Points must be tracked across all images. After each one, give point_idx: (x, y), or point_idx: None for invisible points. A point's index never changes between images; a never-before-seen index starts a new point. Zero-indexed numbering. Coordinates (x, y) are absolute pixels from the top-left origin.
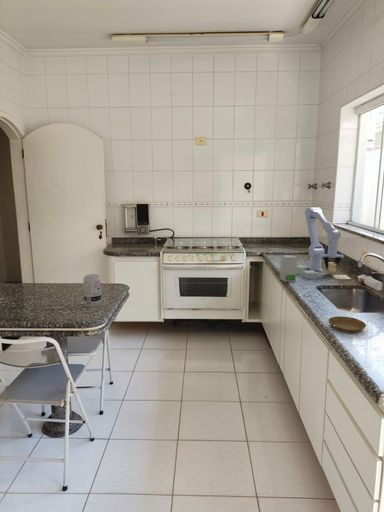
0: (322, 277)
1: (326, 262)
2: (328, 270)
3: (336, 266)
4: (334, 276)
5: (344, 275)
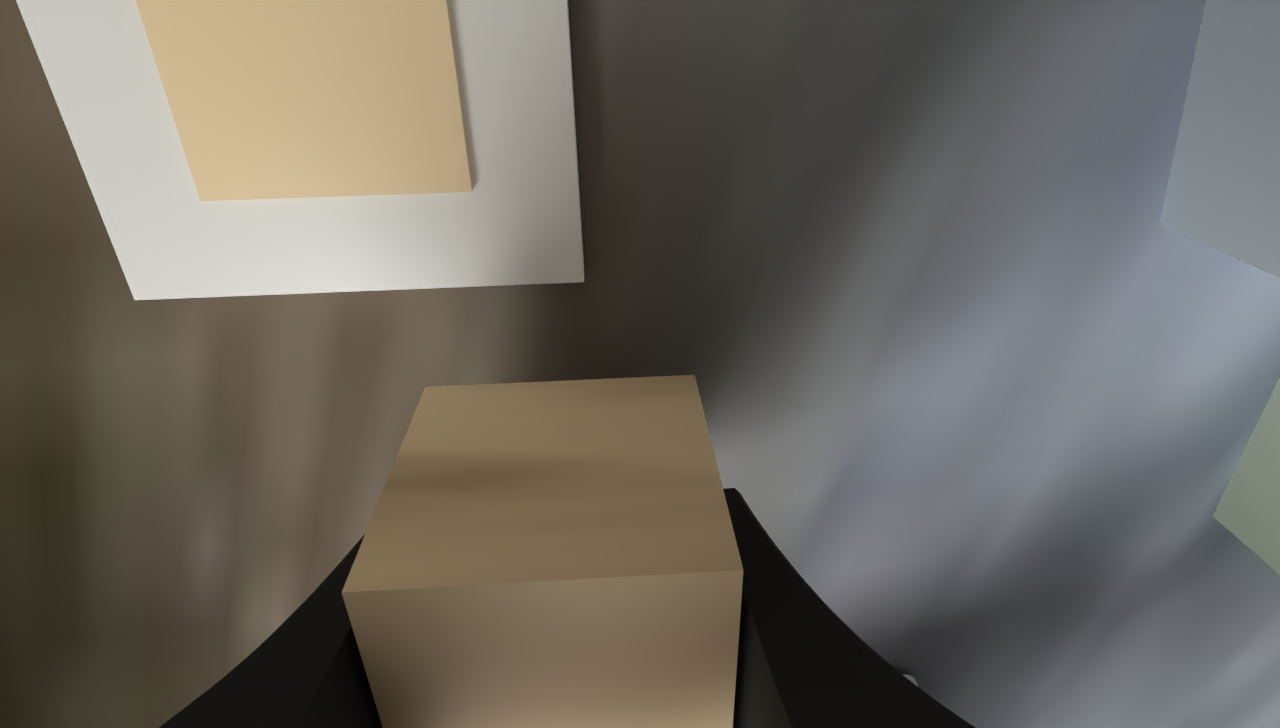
0: (960, 35)
1: (870, 654)
2: (693, 392)
3: None
4: (544, 76)
5: (170, 245)
